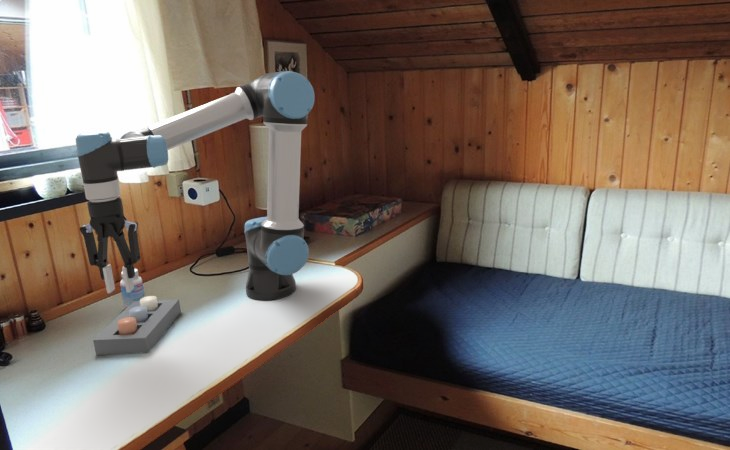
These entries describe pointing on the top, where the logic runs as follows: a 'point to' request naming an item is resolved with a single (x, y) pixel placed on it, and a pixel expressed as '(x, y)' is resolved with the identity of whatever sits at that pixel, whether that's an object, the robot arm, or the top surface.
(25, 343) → the top surface
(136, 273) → the pill bottle
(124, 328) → the terracotta button
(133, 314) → the blue-grey rounded block
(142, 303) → the cream button
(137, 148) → the robot arm
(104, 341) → the tray
